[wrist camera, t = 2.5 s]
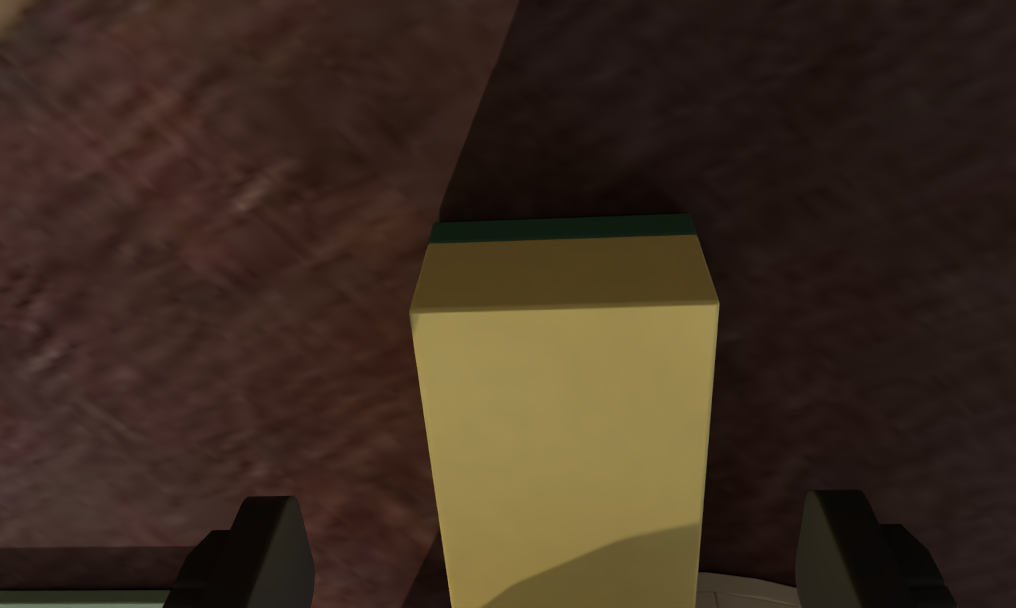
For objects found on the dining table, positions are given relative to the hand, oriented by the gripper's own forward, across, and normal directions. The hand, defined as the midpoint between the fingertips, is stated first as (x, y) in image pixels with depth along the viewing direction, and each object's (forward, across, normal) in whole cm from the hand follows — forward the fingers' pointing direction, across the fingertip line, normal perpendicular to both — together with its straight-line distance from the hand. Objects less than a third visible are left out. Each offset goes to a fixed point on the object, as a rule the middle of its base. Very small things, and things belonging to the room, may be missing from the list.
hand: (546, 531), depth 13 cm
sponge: (+4, 0, 0) cm, 4 cm away
